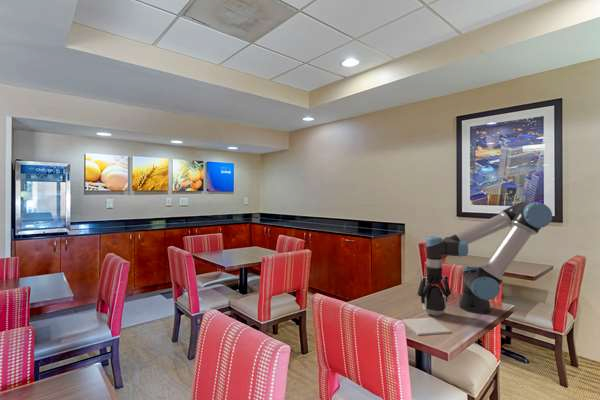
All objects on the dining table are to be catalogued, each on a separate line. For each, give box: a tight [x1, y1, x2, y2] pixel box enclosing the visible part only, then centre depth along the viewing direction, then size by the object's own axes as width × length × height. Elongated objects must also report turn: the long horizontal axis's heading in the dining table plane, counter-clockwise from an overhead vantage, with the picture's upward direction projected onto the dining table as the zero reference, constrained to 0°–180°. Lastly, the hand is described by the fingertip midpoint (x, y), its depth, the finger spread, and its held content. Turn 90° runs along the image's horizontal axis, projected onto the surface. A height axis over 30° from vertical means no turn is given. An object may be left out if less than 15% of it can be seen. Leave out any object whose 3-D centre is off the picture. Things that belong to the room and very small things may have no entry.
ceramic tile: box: [401, 317, 452, 336], centre depth 151 cm, size 16×16×1 cm
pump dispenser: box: [425, 284, 446, 317], centre depth 166 cm, size 10×10×15 cm
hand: (434, 308), depth 166 cm, fingers closed on pump dispenser, 10 cm apart
